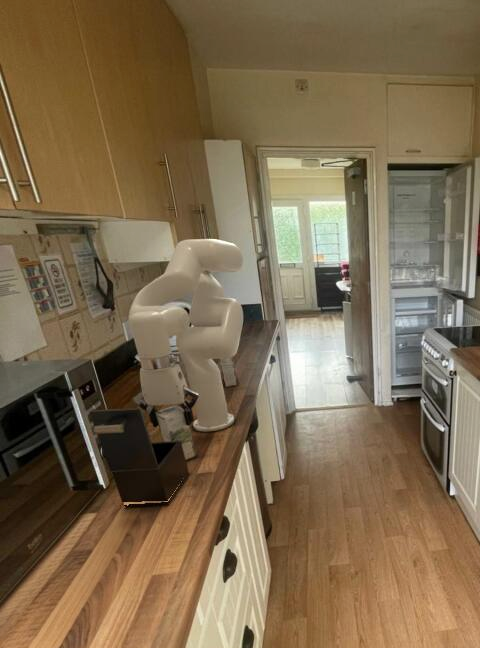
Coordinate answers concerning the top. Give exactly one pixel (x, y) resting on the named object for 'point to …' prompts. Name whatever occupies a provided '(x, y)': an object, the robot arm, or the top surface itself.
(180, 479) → the bin
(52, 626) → the top surface
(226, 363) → the candy bar box
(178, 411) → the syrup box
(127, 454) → the bin lid
